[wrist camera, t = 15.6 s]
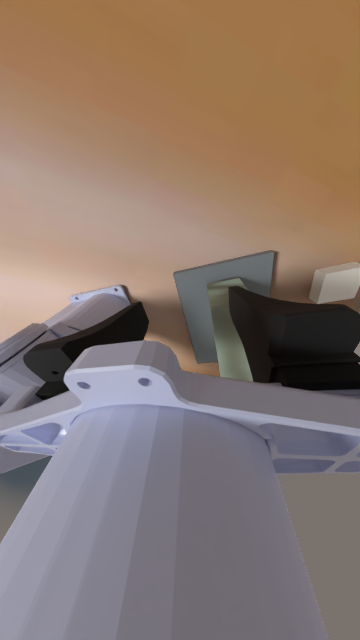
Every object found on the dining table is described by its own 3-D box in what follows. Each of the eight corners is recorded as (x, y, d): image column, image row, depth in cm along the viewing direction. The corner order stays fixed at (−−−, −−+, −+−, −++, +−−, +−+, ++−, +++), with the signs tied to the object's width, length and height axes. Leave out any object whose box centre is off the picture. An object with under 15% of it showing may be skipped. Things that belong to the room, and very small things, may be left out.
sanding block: (216, 354, 27) (222, 391, 21) (206, 282, 19) (210, 309, 14) (239, 352, 26) (252, 390, 20) (238, 276, 18) (257, 302, 13)
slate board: (197, 359, 30) (197, 363, 29) (174, 272, 20) (173, 274, 19) (261, 353, 27) (263, 357, 26) (270, 250, 17) (274, 251, 17)
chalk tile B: (307, 297, 21) (317, 304, 19) (313, 269, 18) (325, 274, 17) (341, 291, 20) (354, 297, 18) (352, 261, 18) (368, 265, 16)
